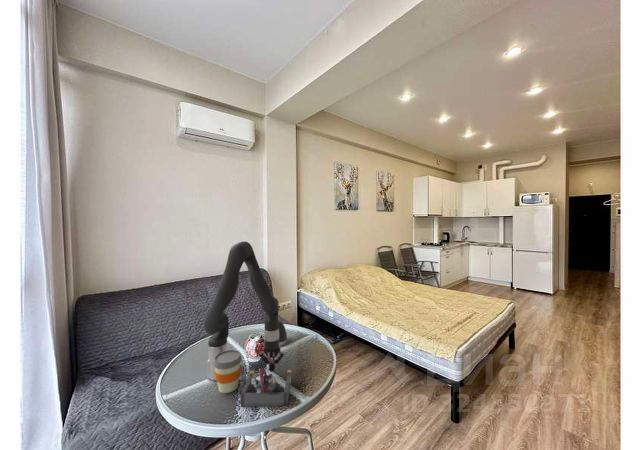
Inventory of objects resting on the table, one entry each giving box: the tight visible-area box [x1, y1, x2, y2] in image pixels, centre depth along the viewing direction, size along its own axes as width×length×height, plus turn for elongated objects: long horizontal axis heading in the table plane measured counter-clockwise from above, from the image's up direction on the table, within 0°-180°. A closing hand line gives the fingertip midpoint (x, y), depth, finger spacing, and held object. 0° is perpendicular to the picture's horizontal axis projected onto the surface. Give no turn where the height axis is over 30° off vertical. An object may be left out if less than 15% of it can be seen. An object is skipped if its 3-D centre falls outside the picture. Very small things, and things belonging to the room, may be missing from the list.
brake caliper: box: [252, 368, 277, 393], centre depth 119 cm, size 11×11×12 cm
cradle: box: [240, 369, 292, 408], centre depth 118 cm, size 20×17×6 cm
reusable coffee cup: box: [214, 349, 242, 394], centre depth 123 cm, size 13×13×15 cm
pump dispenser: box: [278, 320, 288, 347], centre depth 166 cm, size 10×10×15 cm
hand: (272, 370), depth 131 cm, fingers closed
